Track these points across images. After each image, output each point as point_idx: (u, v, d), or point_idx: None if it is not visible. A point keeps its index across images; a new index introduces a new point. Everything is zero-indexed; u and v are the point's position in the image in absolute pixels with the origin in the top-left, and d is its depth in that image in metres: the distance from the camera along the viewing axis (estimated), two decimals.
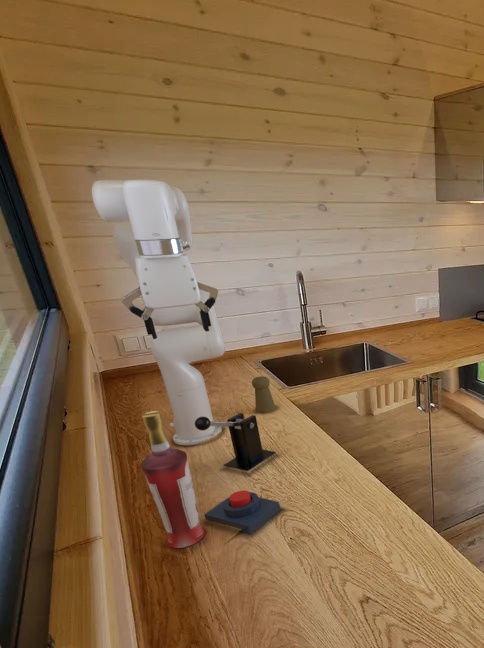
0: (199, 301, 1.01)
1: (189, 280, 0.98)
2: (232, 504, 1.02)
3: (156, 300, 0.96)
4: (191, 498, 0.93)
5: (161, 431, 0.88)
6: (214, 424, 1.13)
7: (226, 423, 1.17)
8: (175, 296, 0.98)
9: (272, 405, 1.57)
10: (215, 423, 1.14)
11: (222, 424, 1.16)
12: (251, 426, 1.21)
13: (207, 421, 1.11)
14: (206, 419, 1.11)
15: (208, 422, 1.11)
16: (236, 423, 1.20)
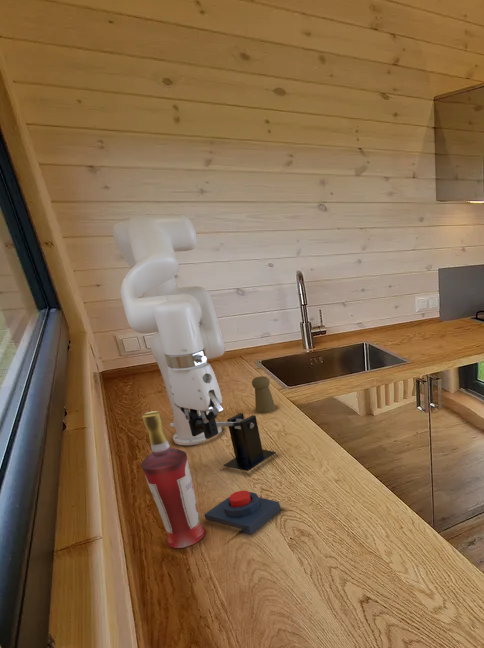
0: (207, 409, 1.06)
1: (197, 391, 1.04)
2: (232, 504, 1.02)
3: (179, 400, 1.08)
4: (191, 498, 0.93)
5: (161, 431, 0.88)
6: None
7: (226, 423, 1.17)
8: (190, 401, 1.07)
9: (272, 405, 1.57)
10: None
11: (222, 424, 1.16)
12: (251, 426, 1.21)
13: None
14: None
15: None
16: (236, 423, 1.20)
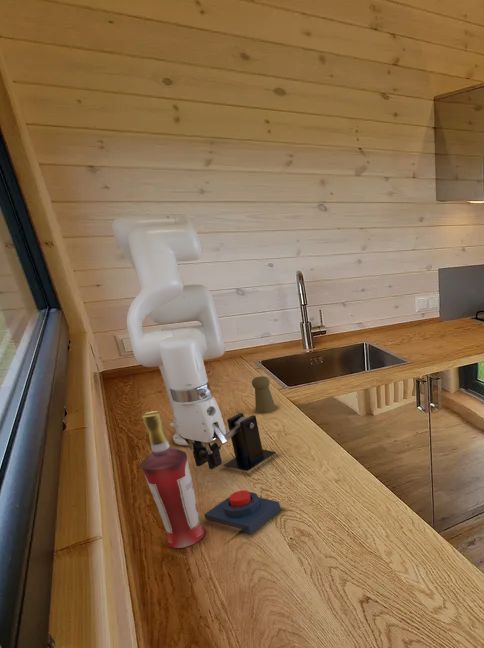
0: (211, 441, 1.08)
1: (201, 424, 1.07)
2: (232, 504, 1.02)
3: (184, 432, 1.10)
4: (191, 498, 0.93)
5: (161, 431, 0.88)
6: None
7: (227, 437, 1.18)
8: (194, 433, 1.09)
9: (272, 405, 1.57)
10: None
11: None
12: (251, 426, 1.21)
13: None
14: None
15: None
16: (236, 429, 1.20)
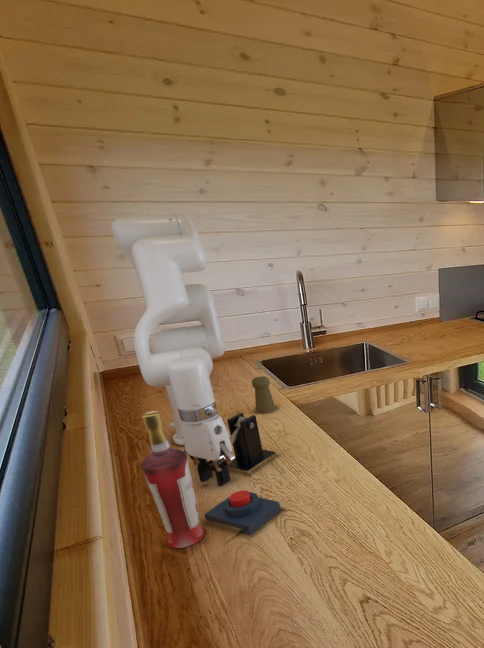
0: (218, 459, 1.11)
1: (208, 442, 1.09)
2: (232, 504, 1.02)
3: (191, 450, 1.12)
4: (191, 498, 0.93)
5: (161, 431, 0.88)
6: None
7: (231, 443, 1.19)
8: (201, 451, 1.11)
9: (272, 405, 1.57)
10: None
11: None
12: (251, 426, 1.21)
13: None
14: None
15: None
16: (238, 432, 1.21)
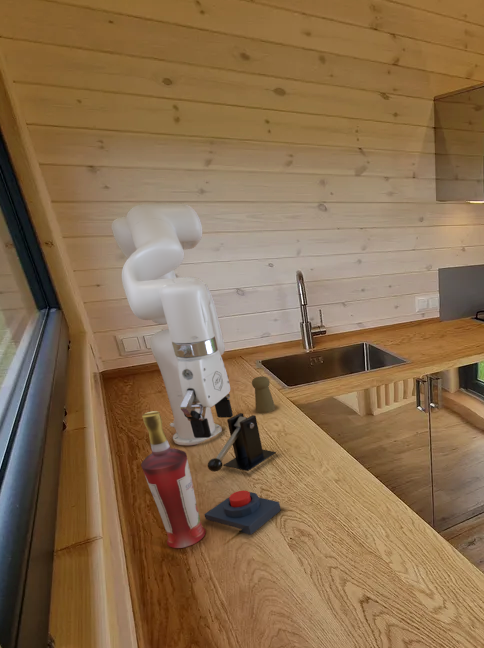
0: None
1: None
2: (232, 504, 1.02)
3: None
4: (191, 498, 0.93)
5: (161, 431, 0.88)
6: (223, 456, 1.17)
7: (231, 443, 1.19)
8: None
9: (272, 405, 1.57)
10: (223, 454, 1.17)
11: (229, 447, 1.19)
12: (251, 426, 1.21)
13: (217, 464, 1.15)
14: (215, 464, 1.15)
15: (219, 464, 1.15)
16: (238, 432, 1.21)
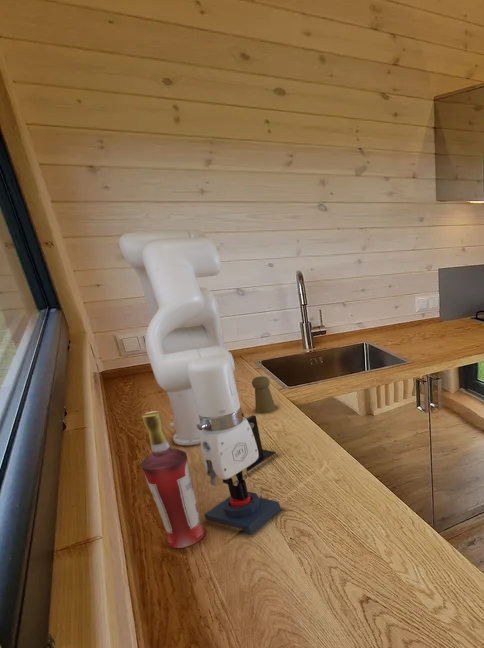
0: None
1: None
2: (232, 506, 1.02)
3: None
4: (191, 498, 0.93)
5: (161, 431, 0.88)
6: None
7: None
8: None
9: (272, 405, 1.57)
10: None
11: None
12: (251, 426, 1.21)
13: None
14: None
15: None
16: None
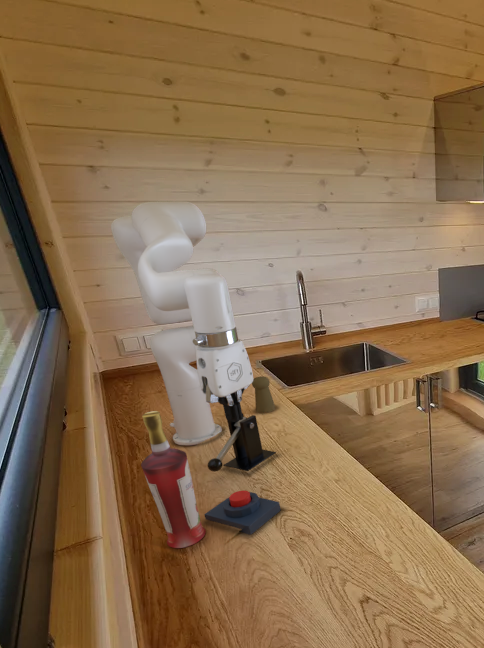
0: None
1: None
2: (232, 504, 1.02)
3: None
4: (191, 498, 0.93)
5: (161, 431, 0.88)
6: (223, 456, 1.17)
7: (231, 443, 1.19)
8: None
9: (272, 405, 1.57)
10: (223, 454, 1.17)
11: (229, 447, 1.19)
12: (251, 426, 1.21)
13: (217, 464, 1.15)
14: (215, 464, 1.15)
15: (219, 464, 1.15)
16: (238, 432, 1.21)
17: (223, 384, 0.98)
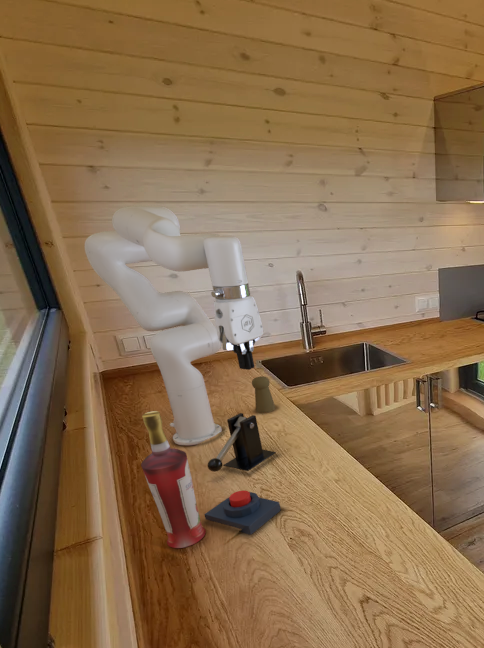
0: None
1: None
2: (232, 504, 1.02)
3: None
4: (191, 498, 0.93)
5: (161, 431, 0.88)
6: (223, 456, 1.17)
7: (231, 443, 1.19)
8: None
9: (272, 405, 1.57)
10: (223, 454, 1.17)
11: (229, 447, 1.19)
12: (251, 426, 1.21)
13: (217, 464, 1.15)
14: (215, 464, 1.15)
15: (219, 464, 1.15)
16: (238, 432, 1.21)
17: (237, 333, 1.11)
